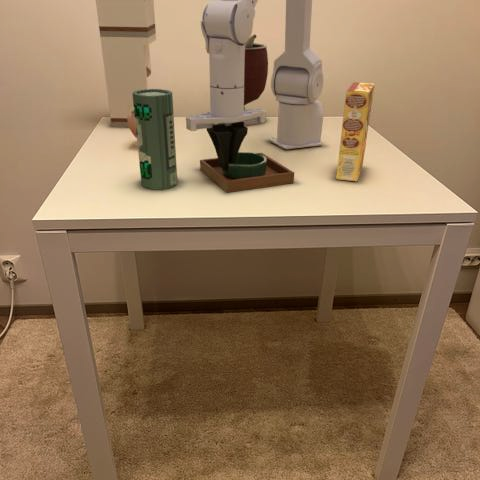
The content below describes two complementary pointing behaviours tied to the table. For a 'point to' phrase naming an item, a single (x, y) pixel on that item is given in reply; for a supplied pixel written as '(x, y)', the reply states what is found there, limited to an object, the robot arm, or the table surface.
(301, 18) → the robot arm
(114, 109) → the striped cream pillar
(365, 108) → the candy box
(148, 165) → the can
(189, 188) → the table surface
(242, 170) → the green round bowl
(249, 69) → the mate gourd
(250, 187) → the tray
